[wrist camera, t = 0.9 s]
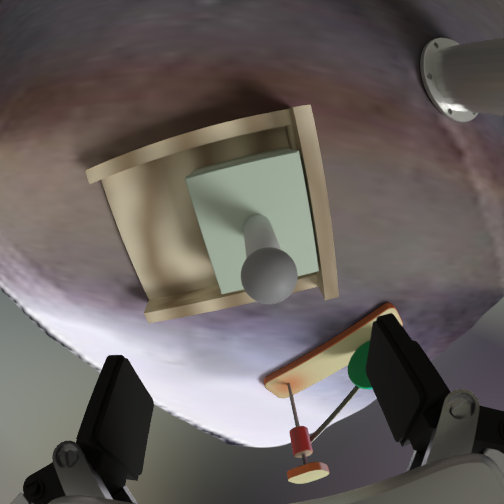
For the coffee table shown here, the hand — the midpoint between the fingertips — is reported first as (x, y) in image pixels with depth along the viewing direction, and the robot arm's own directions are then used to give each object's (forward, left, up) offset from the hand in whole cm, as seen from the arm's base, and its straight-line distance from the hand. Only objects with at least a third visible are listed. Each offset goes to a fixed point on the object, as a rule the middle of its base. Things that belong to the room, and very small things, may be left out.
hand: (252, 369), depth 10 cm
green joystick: (-1, +1, -23) cm, 23 cm away
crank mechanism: (-9, +28, -25) cm, 39 cm away
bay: (+3, +1, -25) cm, 25 cm away
